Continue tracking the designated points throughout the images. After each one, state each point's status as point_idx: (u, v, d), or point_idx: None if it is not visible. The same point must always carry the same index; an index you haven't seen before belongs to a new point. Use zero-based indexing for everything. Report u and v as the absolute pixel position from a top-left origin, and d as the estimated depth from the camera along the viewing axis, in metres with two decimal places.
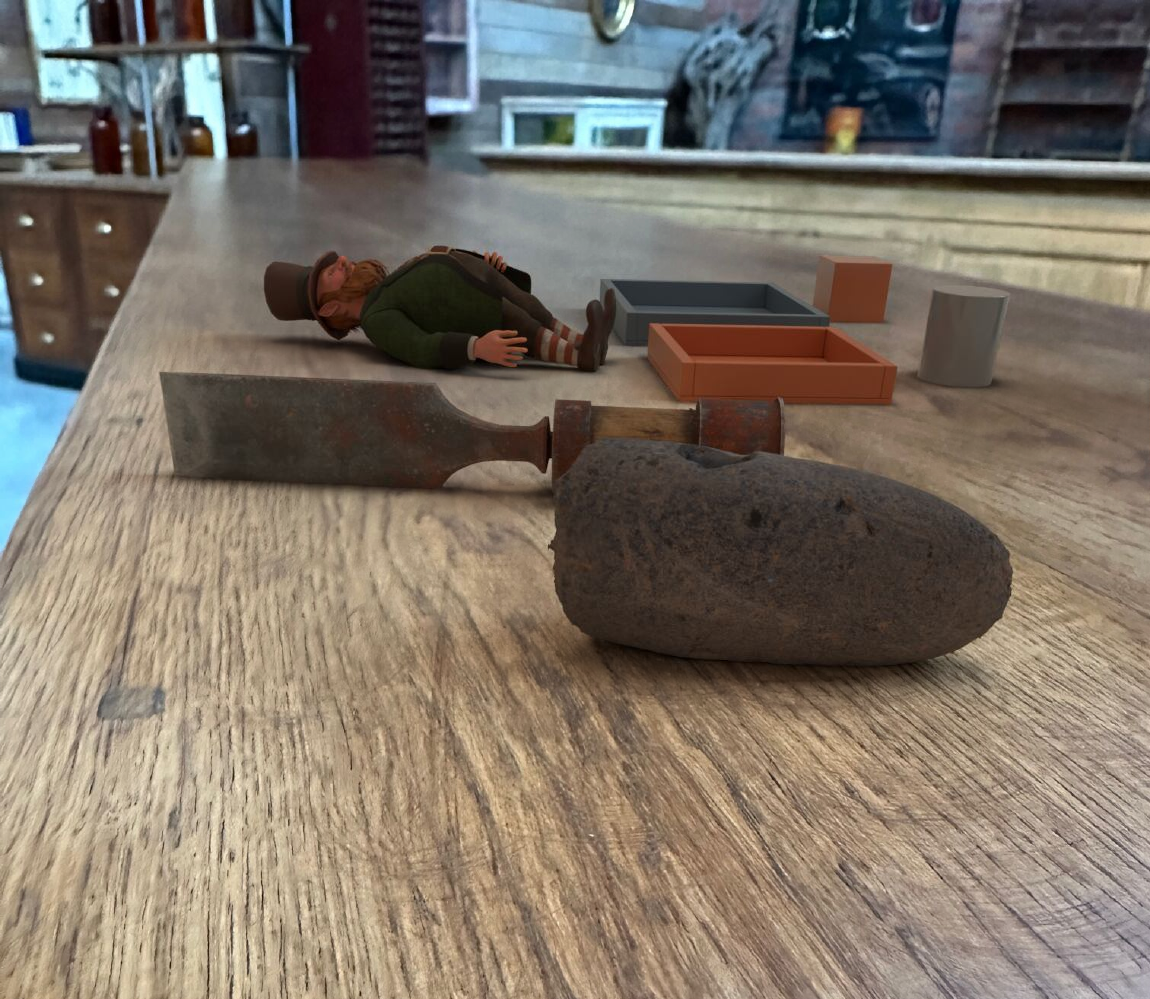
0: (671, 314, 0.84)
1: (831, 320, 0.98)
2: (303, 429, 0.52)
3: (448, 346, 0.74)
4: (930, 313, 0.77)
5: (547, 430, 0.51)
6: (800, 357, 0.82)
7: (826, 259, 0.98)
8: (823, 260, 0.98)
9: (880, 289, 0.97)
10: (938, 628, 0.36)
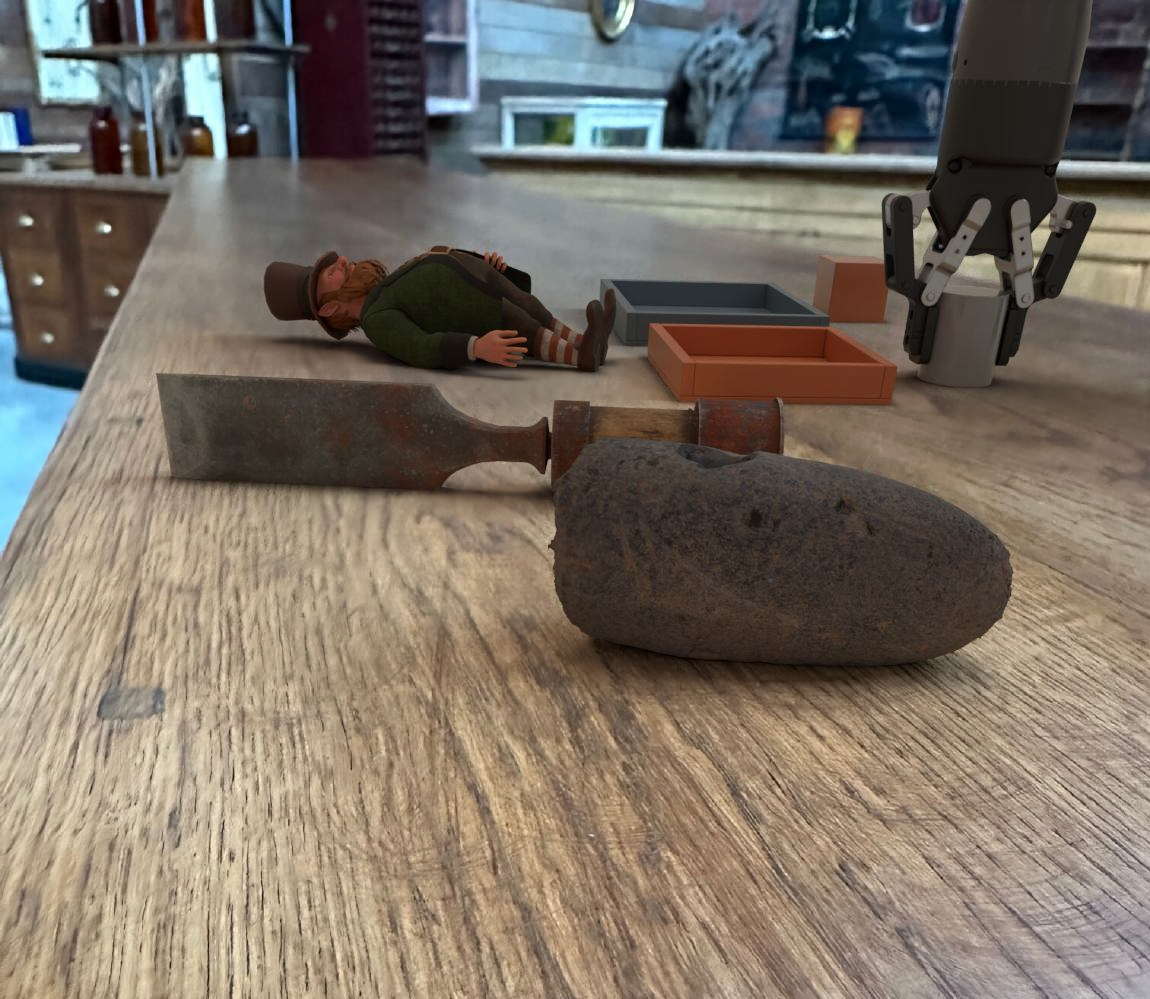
0: (671, 314, 0.84)
1: (831, 320, 0.98)
2: (300, 431, 0.51)
3: (448, 346, 0.74)
4: None
5: (546, 431, 0.51)
6: (800, 357, 0.82)
7: (826, 259, 0.98)
8: (823, 260, 0.98)
9: (880, 289, 0.97)
10: (938, 628, 0.36)
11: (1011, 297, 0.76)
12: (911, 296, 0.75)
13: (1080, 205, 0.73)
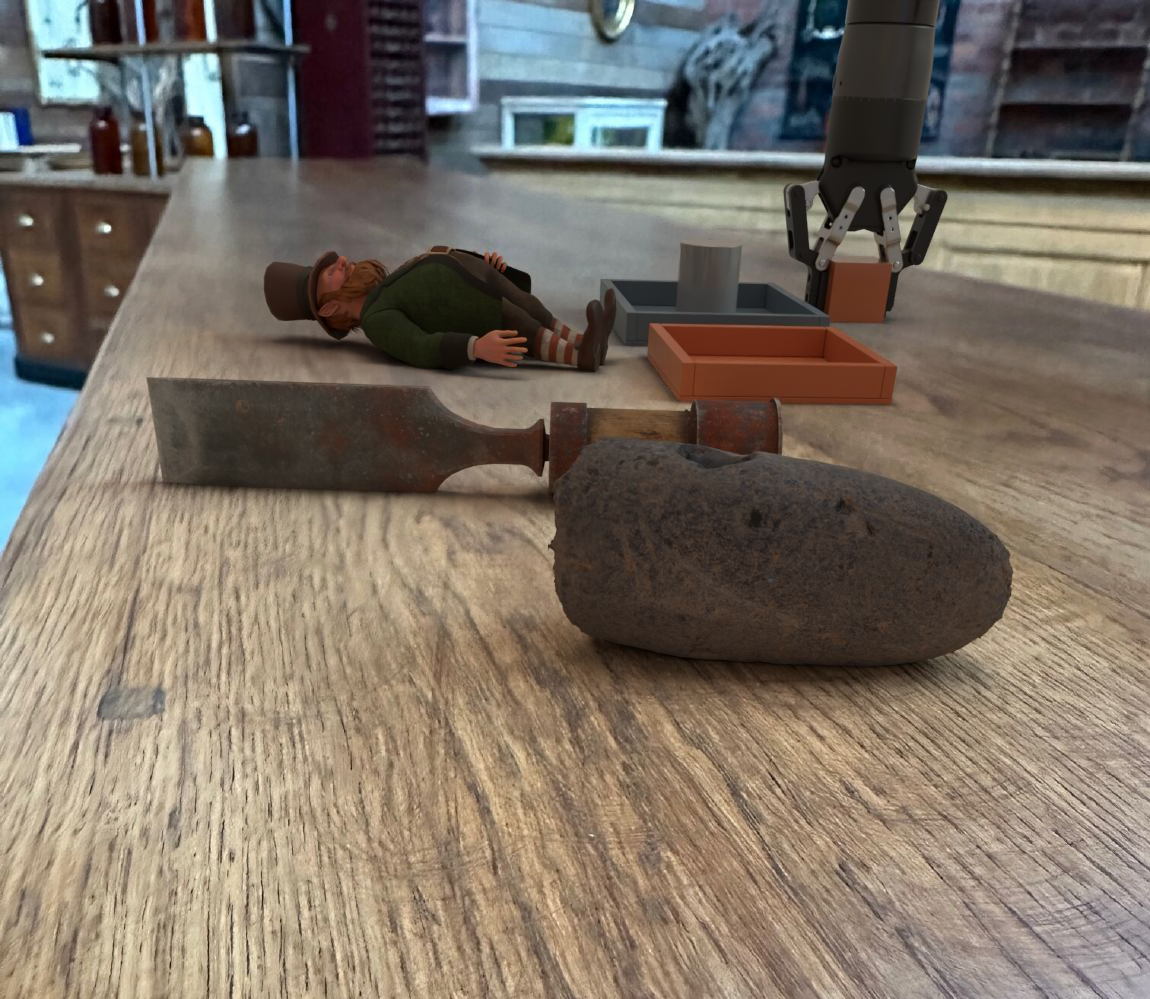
0: (671, 314, 0.84)
1: (831, 320, 0.98)
2: (294, 435, 0.51)
3: (448, 346, 0.74)
4: None
5: (543, 433, 0.51)
6: (800, 357, 0.82)
7: None
8: None
9: (880, 289, 0.97)
10: (938, 628, 0.36)
11: None
12: (808, 263, 0.97)
13: (935, 192, 0.95)
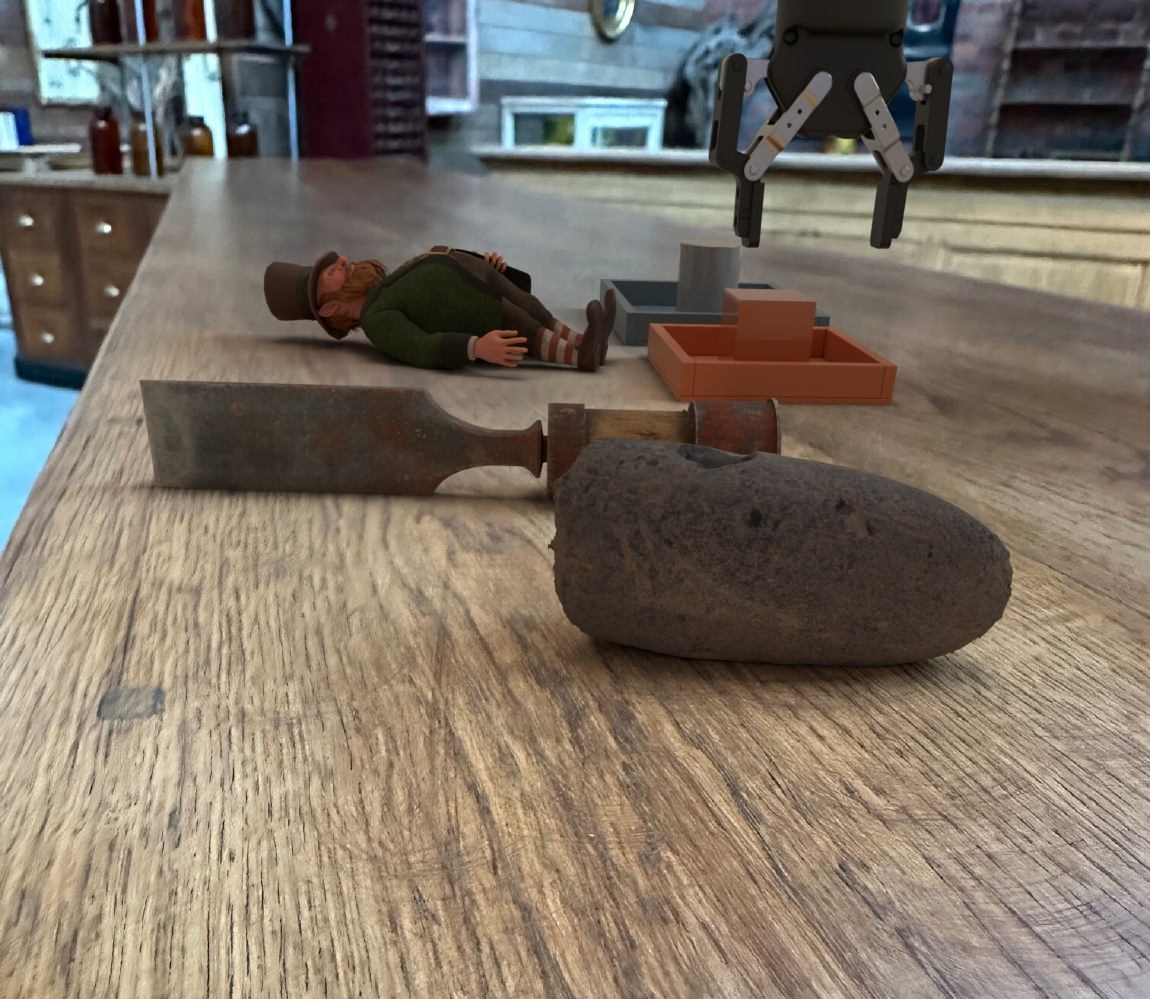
0: (671, 314, 0.84)
1: None
2: (290, 437, 0.50)
3: (448, 346, 0.74)
4: None
5: (541, 434, 0.50)
6: None
7: (731, 295, 0.74)
8: (728, 296, 0.74)
9: (801, 335, 0.73)
10: (938, 628, 0.36)
11: (890, 171, 0.70)
12: (734, 170, 0.69)
13: (934, 64, 0.67)
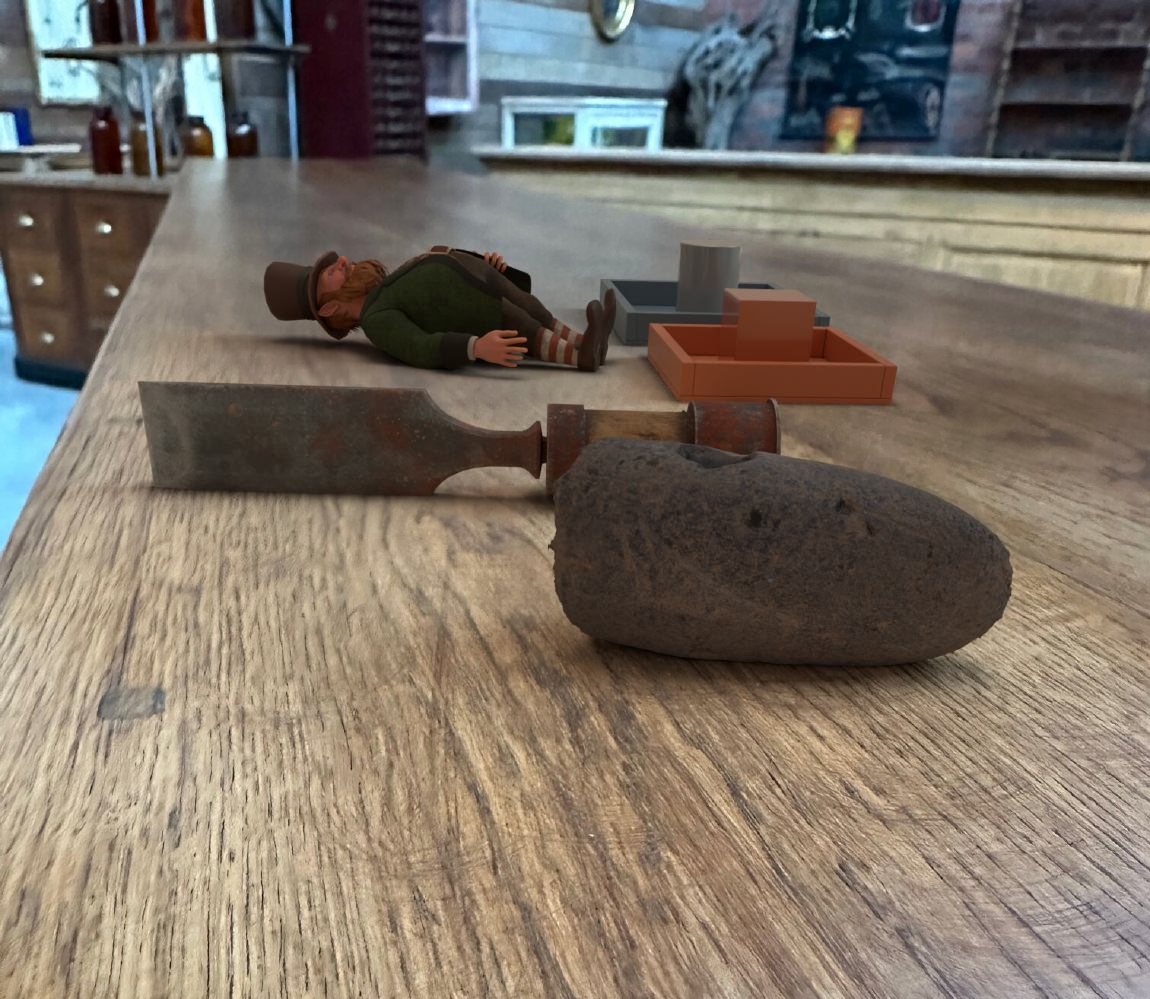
0: (671, 314, 0.84)
1: None
2: (289, 438, 0.50)
3: (448, 346, 0.74)
4: None
5: (540, 435, 0.50)
6: None
7: (731, 295, 0.74)
8: (728, 296, 0.74)
9: (801, 335, 0.73)
10: (938, 628, 0.36)
11: None
12: None
13: None
